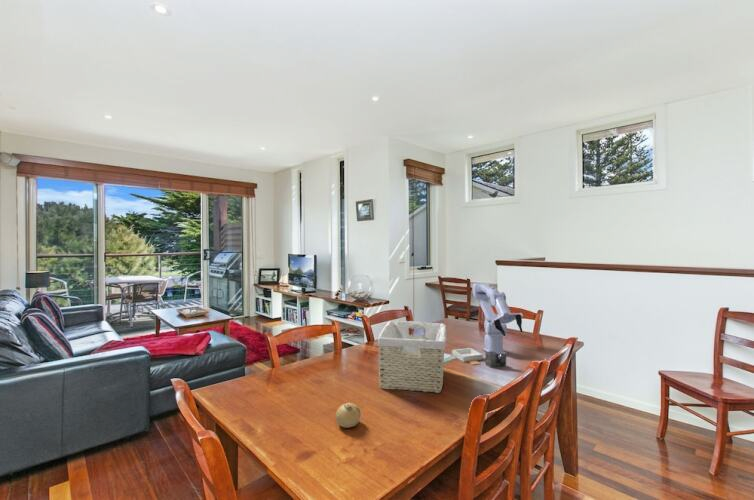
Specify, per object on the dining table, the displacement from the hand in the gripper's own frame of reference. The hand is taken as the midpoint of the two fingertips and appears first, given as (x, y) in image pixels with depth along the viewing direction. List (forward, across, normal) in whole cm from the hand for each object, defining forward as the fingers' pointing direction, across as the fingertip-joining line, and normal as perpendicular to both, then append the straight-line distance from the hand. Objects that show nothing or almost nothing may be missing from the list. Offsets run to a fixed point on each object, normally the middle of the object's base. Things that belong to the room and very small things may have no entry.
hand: (512, 332), depth 160 cm
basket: (+19, -46, -9) cm, 51 cm away
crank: (+4, -11, +12) cm, 17 cm away
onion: (+48, -64, -35) cm, 87 cm away
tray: (-3, -23, +14) cm, 27 cm away
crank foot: (+1, -13, +15) cm, 20 cm away
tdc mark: (+3, -20, +11) cm, 23 cm away
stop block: (+6, -13, +11) cm, 19 cm away
